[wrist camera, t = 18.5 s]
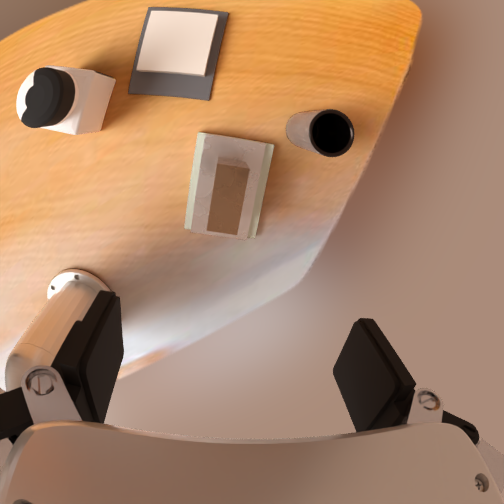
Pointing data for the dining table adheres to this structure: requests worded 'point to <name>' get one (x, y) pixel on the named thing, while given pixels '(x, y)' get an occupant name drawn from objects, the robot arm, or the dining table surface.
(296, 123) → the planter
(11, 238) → the dining table surface
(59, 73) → the medicine bottle
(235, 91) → the dining table surface
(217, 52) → the mat
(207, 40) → the tile
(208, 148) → the float
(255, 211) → the board
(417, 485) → the robot arm
